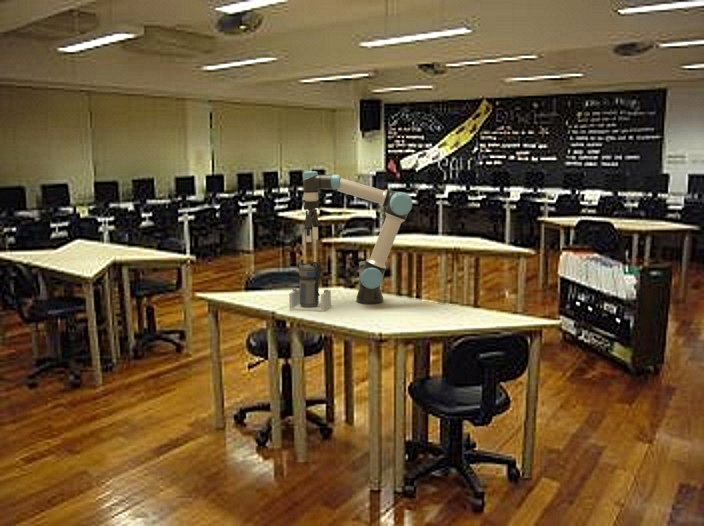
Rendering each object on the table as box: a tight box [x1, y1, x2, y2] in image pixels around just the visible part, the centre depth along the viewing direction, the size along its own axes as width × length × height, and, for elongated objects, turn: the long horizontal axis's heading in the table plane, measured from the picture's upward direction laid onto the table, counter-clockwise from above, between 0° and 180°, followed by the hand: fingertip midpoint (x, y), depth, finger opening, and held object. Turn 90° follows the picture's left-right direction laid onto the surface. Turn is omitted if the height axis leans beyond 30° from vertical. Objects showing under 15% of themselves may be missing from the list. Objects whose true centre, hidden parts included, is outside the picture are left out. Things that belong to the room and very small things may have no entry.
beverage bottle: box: [298, 259, 322, 307], centre depth 334 cm, size 10×13×25 cm
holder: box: [288, 287, 332, 313], centre depth 335 cm, size 19×14×10 cm
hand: (312, 240), depth 332 cm, fingers open, 13 cm apart
